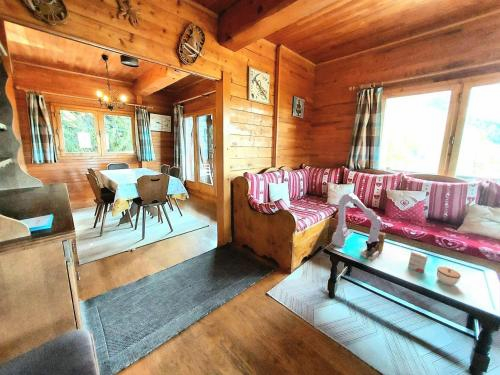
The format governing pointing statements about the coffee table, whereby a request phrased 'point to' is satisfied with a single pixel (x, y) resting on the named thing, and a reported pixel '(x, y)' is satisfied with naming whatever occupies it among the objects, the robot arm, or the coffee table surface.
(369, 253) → the connector plug
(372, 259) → the end holder
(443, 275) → the lidded jar
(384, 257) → the coffee table surface
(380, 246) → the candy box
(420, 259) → the ink box
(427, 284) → the coffee table surface
